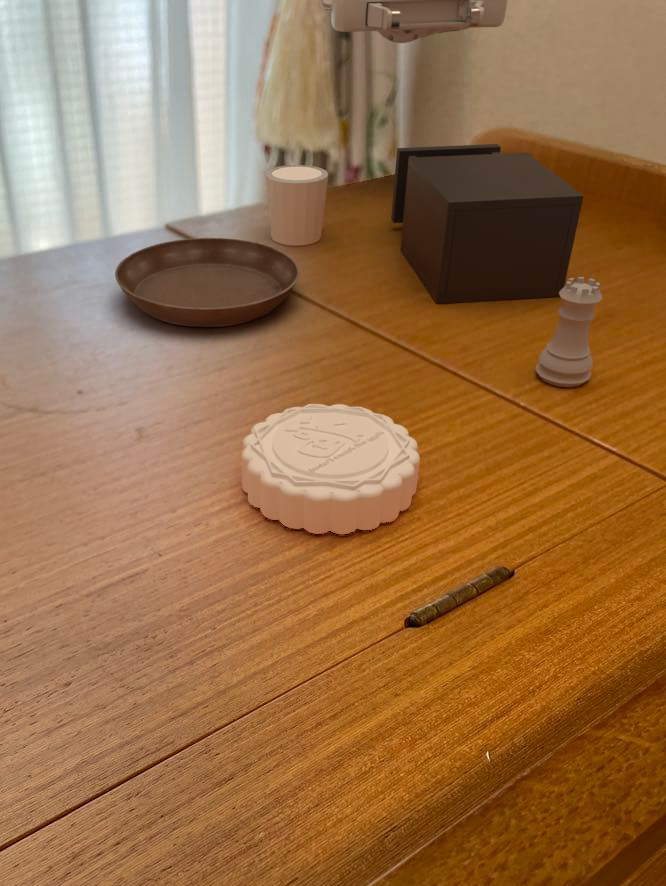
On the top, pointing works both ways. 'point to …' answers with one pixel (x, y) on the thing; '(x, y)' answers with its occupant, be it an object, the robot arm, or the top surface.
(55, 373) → the top surface
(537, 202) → the cabinet
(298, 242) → the pale pink cup
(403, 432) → the mooncake
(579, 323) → the rook chess piece
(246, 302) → the plant saucer
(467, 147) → the drawer
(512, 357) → the top surface
